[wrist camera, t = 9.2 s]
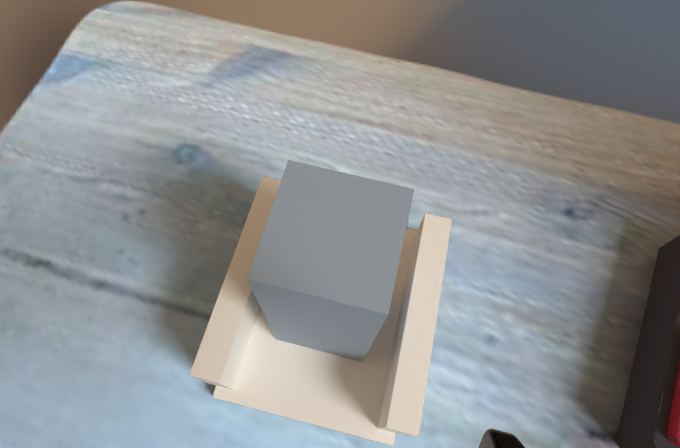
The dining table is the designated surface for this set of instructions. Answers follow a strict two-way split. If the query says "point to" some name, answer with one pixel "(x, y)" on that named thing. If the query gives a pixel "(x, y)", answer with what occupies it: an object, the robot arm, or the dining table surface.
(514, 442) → the robot arm
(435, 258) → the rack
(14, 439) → the dining table surface
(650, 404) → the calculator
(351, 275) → the grey rectangular prism
